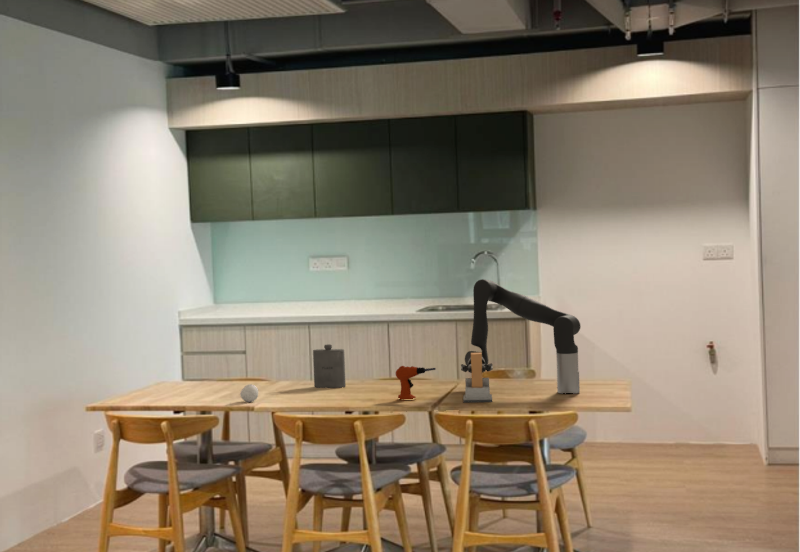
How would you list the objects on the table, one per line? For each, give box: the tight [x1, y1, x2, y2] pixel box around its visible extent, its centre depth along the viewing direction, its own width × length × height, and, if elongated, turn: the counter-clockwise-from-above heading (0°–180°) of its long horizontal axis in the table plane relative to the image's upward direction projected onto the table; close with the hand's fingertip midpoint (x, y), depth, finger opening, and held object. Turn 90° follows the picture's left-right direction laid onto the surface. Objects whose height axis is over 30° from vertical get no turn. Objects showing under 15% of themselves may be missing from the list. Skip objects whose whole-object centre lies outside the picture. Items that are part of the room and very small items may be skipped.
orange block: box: [470, 353, 483, 387], centre depth 448 cm, size 4×4×17 cm
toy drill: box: [395, 365, 437, 399], centre depth 454 cm, size 5×19×15 cm, turn 70°
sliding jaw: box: [465, 377, 490, 388], centre depth 454 cm, size 10×3×7 cm, turn 86°
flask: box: [312, 343, 346, 389], centre depth 499 cm, size 15×6×20 cm, turn 78°
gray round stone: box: [239, 383, 259, 403], centre depth 464 cm, size 8×8×8 cm
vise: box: [462, 386, 493, 404], centre depth 449 cm, size 12×14×6 cm
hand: (476, 370), depth 445 cm, fingers closed on orange block, 4 cm apart
